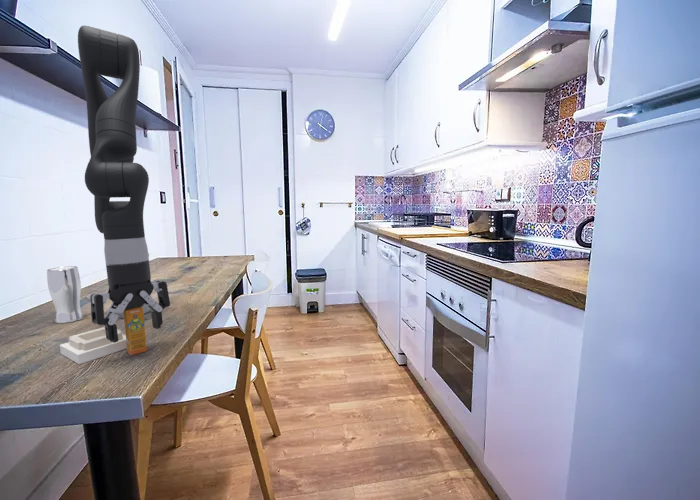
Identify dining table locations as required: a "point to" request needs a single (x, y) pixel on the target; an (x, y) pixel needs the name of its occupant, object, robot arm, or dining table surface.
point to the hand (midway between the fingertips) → (136, 334)
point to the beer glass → (65, 293)
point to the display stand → (91, 345)
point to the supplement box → (135, 330)
